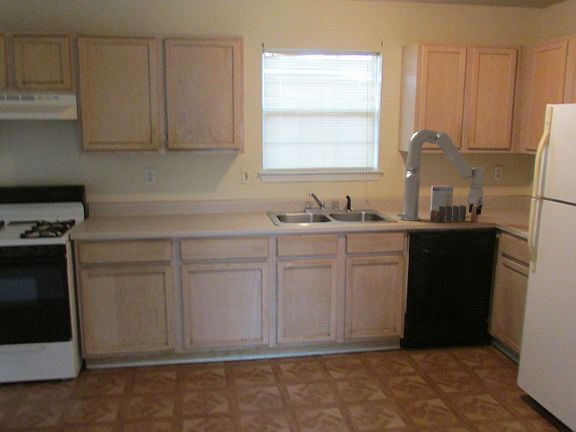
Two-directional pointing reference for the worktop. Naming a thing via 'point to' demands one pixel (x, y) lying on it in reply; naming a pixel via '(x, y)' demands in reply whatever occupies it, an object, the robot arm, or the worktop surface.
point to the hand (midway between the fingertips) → (474, 213)
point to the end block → (434, 216)
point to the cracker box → (441, 197)
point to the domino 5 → (474, 215)
